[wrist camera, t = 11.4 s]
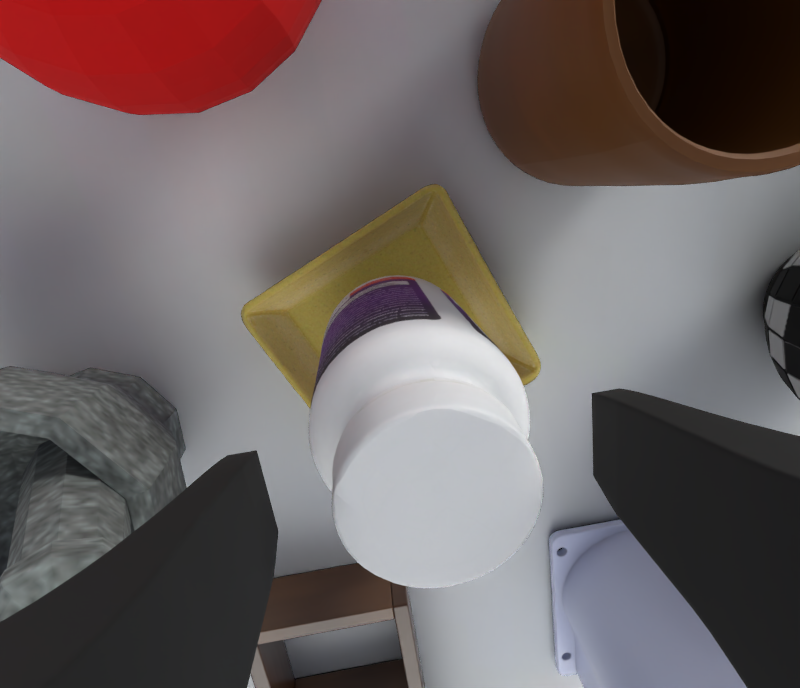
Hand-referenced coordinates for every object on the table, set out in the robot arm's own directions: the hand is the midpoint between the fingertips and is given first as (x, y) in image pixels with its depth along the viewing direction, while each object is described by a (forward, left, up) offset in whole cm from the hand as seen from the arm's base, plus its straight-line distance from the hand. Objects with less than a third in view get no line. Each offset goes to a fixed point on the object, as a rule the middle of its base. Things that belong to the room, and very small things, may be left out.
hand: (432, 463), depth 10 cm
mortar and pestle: (-2, +12, -11) cm, 16 cm away
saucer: (0, 0, -11) cm, 11 cm away
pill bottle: (0, 0, -8) cm, 9 cm away
